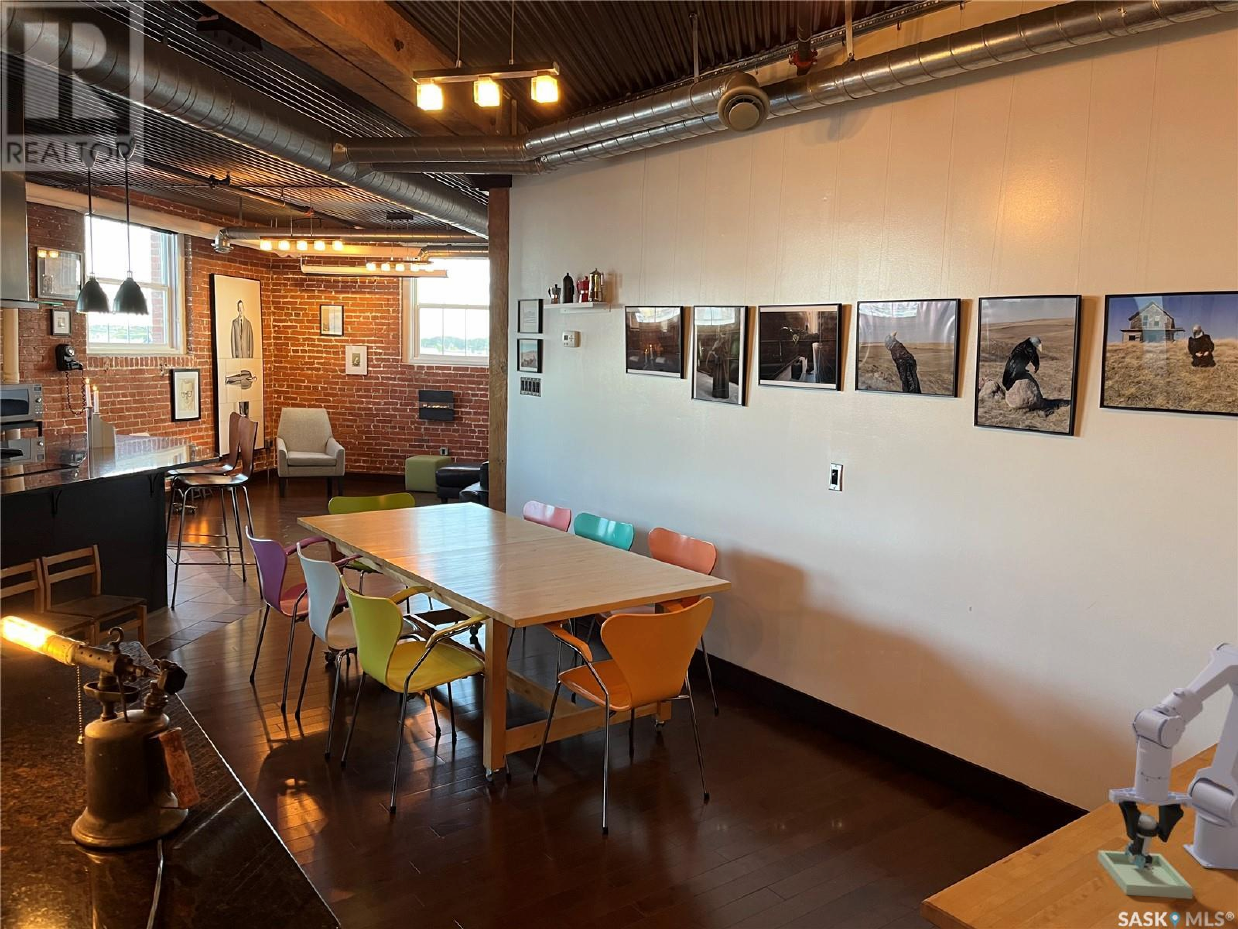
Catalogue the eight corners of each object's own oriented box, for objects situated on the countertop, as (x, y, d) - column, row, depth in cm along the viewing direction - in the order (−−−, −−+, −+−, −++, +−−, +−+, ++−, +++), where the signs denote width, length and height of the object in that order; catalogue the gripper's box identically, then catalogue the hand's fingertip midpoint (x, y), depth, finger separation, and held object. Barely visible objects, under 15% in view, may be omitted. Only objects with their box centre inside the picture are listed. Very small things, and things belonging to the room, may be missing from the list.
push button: (1163, 875, 173) (1173, 831, 170) (1138, 877, 172) (1148, 832, 169) (1139, 852, 179) (1148, 809, 176) (1115, 853, 178) (1124, 810, 176)
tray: (1159, 863, 179) (1160, 854, 179) (1192, 899, 167) (1193, 889, 167) (1097, 859, 180) (1098, 850, 180) (1125, 894, 168) (1126, 884, 168)
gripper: (1180, 765, 175) (1174, 830, 176) (1104, 761, 176) (1098, 825, 177) (1201, 782, 168) (1194, 849, 169) (1121, 777, 169) (1115, 844, 170)
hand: (1146, 838), depth 173 cm, fingers closed on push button, 5 cm apart
